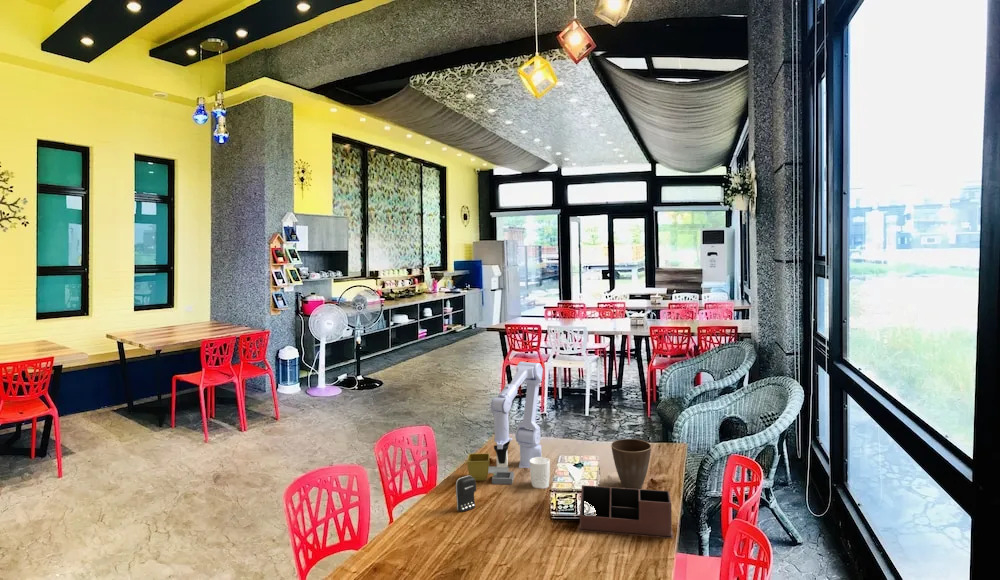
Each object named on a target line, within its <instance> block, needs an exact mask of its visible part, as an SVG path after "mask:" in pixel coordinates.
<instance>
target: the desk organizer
mask: <svg viewBox="0 0 1000 580" xmlns="http://www.w3.org/2000/svg"><path fill="white" fill-rule="evenodd" d="M584 501H586V502H588V503H589V504H591V505H592V506H594V508H595V510H596V514H597V515H596V516H585V515H584ZM591 505H590V506H591ZM672 521H673V520H672V500H671V493H670V490H660V489H659V490H658V489H645V488H644V489H643V488H640V489H631V488H624V487H616V486H615V487H613V486H611V487H610V486H600V485H599V486H597V485H585V484H584V485H583V484H582V485H581V494H580V508H579V527H578V531H580V532H591V533H603V534H605V533H606V534H614V535H615V534H617V535H626V536H629V535H630V536H639V537H653V538H664V539H665V538H666V539H674V535H673V534H674V533H673V527H672V526H673V525H672Z"/></svg>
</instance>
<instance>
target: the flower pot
mask: <svg viewBox="0 0 1000 580" xmlns="http://www.w3.org/2000/svg"><path fill="white" fill-rule="evenodd" d="M490 456H491V455H490V453H486V452H485V453H468V455H467V460H466V464H467V469H468V470H467V471H468V475H469V476H472V477H473V478H474V479H475V481H476V482H477V481H486V479H487V477H488V475H489V473H488V469H489V466H490V458H491V457H490Z"/></svg>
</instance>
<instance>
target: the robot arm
mask: <svg viewBox="0 0 1000 580" xmlns="http://www.w3.org/2000/svg"><path fill="white" fill-rule="evenodd" d="M515 370H516V373H515V374H514V376H513V377H512V380H511V382H510V383H508V384H506V385H505V386H504V388H503V389H502V390H500V391H501V392H500V393H499V394H498V396H496V397H493V399H491V403H490V410H491V411H492V417H493V422H494V423H493V426H494V428H493V429H494V441H493V442H494V443H495V444H496V445H493V449H494V451H495V453H497V456H498V461H499V463H500V464H504V463H505V458H506V452H507V451H508V449H509V445H510V442H511V441H513V437H510V430H509V426H510V425H509V413H510V411H511V408H512V404H513V401H514V399H515V398H516V396H517V394H518V389H519V387H520V386H521V385H522V383H523V382H525V383H526V386H527V387H526V394H525V403H524V410H523V417H522V418H523V419H522V421H521V422H520V423H519V424H517V428H516V431H515V434H514V437H515V438H514V439H515V441H516V442H517V445H518V446H519V464H518V469H519V468H522V469H524V468H527V469H530V459H532V458H535V457H543V455H542V453H543V451H542V449H543V448H542V444H540V442H541V427H540V426H539V425H538V424H537V423H536V418H537V417H536V416H537V407H538V400H539V399H538V398H539V393H540V392H539V389H540V383H542V380H543V372H544V368H543V367H542V364H541V363H540V362H527V361H519V362H518V364H517V366H516V369H515Z"/></svg>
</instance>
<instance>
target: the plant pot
mask: <svg viewBox="0 0 1000 580" xmlns="http://www.w3.org/2000/svg"><path fill="white" fill-rule="evenodd" d="M610 447H611V452H612V458H613V462H614V467H615V470H616V473H617V475H618V478H619V481H620V483H621V485H622V488H631V489H643V485H644V483H645V480H646V477H647V474H648V469H649V464H650V460H651V451H652V444H650V442H648V441H645V440H641V439H635V438H627V439H626V438H624V439H618V440H615V441H612V442H611V444H610Z"/></svg>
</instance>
